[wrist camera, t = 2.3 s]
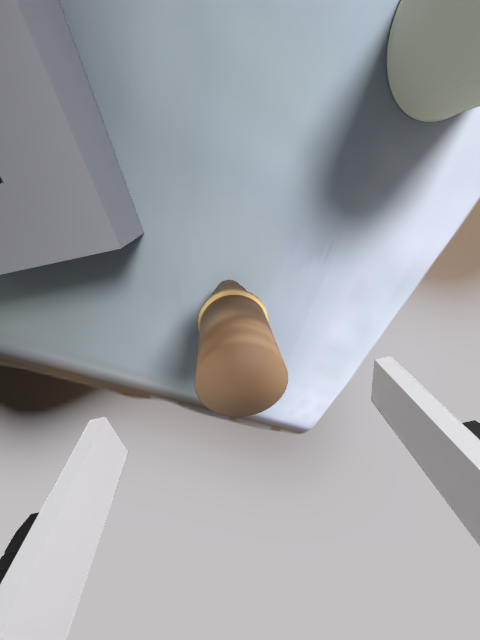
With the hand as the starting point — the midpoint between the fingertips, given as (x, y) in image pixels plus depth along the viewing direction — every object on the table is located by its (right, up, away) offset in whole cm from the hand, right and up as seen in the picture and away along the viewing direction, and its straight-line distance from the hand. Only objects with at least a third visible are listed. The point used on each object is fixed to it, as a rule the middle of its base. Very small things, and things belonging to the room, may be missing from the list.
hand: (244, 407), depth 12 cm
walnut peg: (-1, +7, +12) cm, 14 cm away
